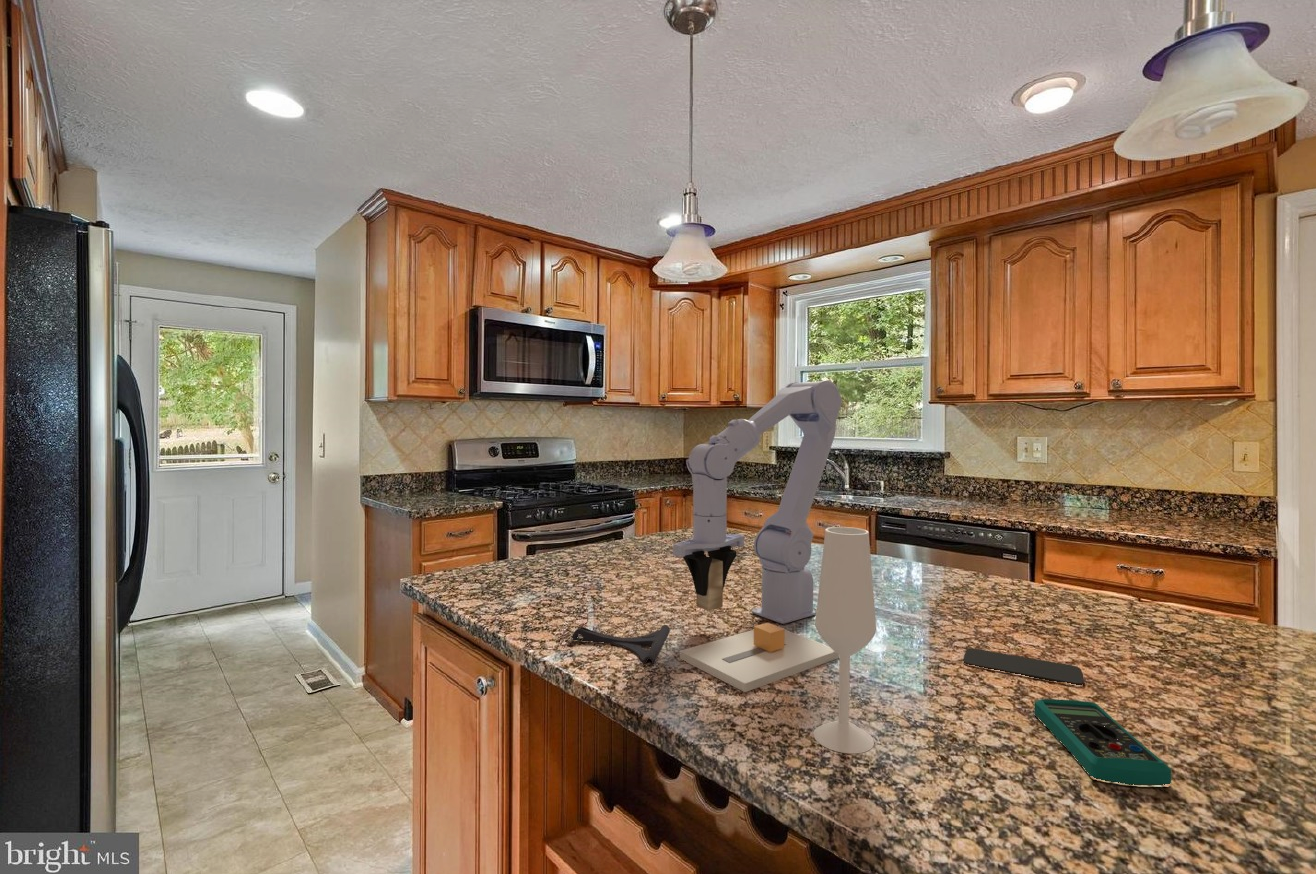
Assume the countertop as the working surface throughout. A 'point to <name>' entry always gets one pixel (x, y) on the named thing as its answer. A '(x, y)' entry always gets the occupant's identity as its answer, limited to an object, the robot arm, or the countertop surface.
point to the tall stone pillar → (713, 588)
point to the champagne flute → (845, 624)
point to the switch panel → (756, 659)
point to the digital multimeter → (1101, 743)
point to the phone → (1024, 666)
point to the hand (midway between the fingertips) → (709, 592)
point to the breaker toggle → (769, 637)
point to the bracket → (630, 641)
